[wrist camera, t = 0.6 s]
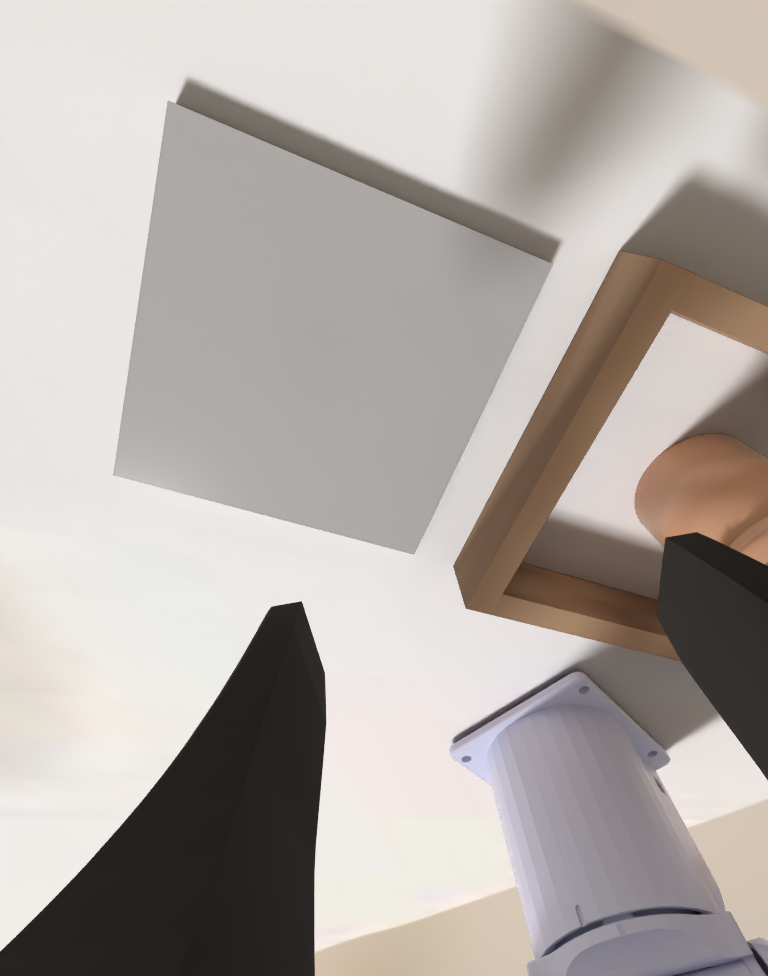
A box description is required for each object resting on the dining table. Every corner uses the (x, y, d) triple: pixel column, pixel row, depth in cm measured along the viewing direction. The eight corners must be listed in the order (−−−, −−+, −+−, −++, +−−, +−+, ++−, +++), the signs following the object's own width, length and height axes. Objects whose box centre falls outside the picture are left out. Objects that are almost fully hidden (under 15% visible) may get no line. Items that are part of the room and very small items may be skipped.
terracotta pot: (782, 490, 21) (930, 590, 16) (663, 564, 22) (763, 679, 17) (728, 397, 19) (880, 477, 13) (602, 486, 20) (694, 590, 15)
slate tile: (545, 261, 16) (552, 263, 16) (412, 545, 21) (413, 554, 20) (174, 104, 14) (167, 100, 13) (119, 467, 18) (113, 474, 18)
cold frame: (961, 403, 19) (1039, 429, 17) (742, 642, 25) (780, 685, 23) (619, 250, 16) (662, 259, 14) (453, 566, 21) (465, 608, 19)
